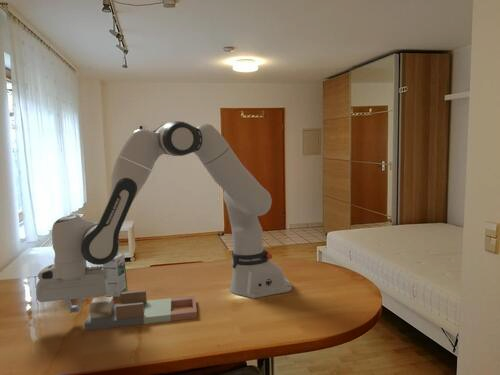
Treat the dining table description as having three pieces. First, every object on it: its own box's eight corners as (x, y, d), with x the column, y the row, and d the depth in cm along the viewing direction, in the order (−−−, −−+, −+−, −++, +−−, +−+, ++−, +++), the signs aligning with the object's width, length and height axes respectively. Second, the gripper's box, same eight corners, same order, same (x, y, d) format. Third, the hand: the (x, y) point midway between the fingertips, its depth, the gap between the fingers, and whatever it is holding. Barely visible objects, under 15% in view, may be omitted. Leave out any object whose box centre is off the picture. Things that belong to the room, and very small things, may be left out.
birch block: (114, 308, 128) (113, 296, 128) (111, 316, 123) (110, 303, 122) (94, 310, 127) (93, 298, 127) (90, 318, 122) (89, 305, 121)
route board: (195, 301, 137) (194, 284, 136) (197, 317, 124) (196, 299, 123) (94, 311, 131) (92, 294, 130) (85, 330, 118) (83, 311, 117)
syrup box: (119, 297, 143) (116, 258, 141) (104, 296, 144) (101, 257, 142) (127, 291, 148) (124, 253, 146) (113, 290, 149) (110, 252, 148)
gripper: (108, 262, 127) (111, 304, 128) (39, 268, 123) (43, 311, 125) (104, 268, 120) (108, 312, 122) (31, 275, 117) (36, 319, 119)
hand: (75, 311), depth 123 cm, fingers closed
